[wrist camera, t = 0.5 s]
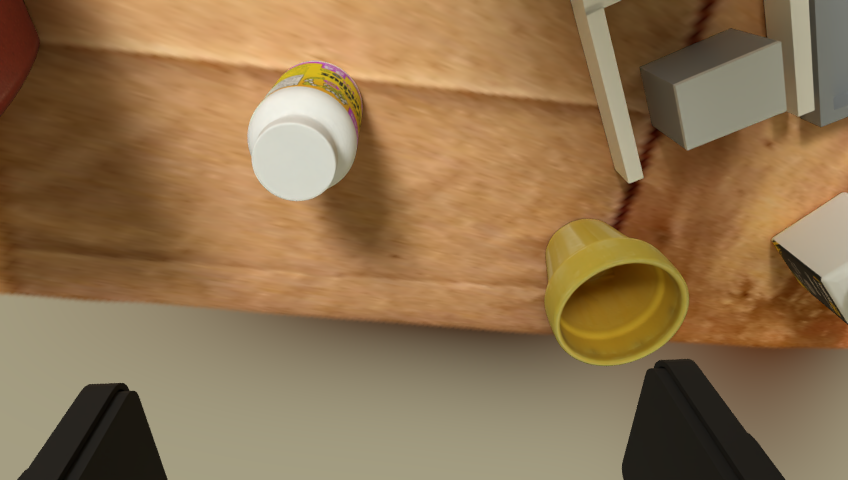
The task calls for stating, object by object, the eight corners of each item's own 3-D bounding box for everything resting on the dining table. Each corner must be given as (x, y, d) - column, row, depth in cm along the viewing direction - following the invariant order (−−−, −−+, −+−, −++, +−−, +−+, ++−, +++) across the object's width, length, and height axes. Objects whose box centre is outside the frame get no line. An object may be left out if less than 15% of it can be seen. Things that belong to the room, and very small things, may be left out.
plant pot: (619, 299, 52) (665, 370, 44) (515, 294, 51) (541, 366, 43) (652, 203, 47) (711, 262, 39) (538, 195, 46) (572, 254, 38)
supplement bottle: (378, 122, 42) (375, 189, 31) (305, 158, 43) (277, 235, 32) (335, 41, 39) (314, 83, 28) (257, 82, 40) (207, 139, 29)
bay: (568, -7, 38) (581, -2, 36) (773, -100, 36) (803, -103, 34) (615, 169, 45) (629, 183, 43) (788, 99, 43) (814, 110, 41)
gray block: (639, 66, 41) (675, 85, 36) (730, 28, 40) (781, 41, 35) (651, 124, 44) (687, 150, 38) (738, 89, 43) (786, 111, 37)
